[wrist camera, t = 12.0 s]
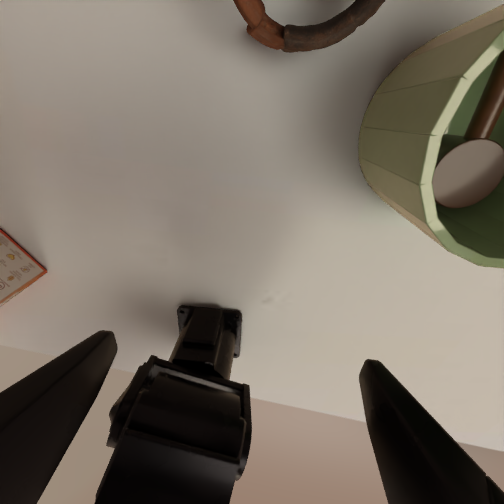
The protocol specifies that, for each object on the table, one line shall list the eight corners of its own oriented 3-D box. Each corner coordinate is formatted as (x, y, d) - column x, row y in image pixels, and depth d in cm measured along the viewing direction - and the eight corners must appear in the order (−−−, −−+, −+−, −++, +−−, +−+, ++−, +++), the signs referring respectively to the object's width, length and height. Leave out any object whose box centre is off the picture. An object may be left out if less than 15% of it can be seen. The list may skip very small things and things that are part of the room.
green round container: (482, 214, 19) (620, 279, 11) (340, 202, 19) (383, 257, 12) (579, 35, 14) (945, -62, 6) (384, 23, 14) (509, -81, 7)
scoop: (449, 195, 18) (485, 211, 15) (394, 190, 18) (419, 205, 15) (512, 57, 14) (577, 41, 11) (442, 53, 14) (488, 36, 11)
